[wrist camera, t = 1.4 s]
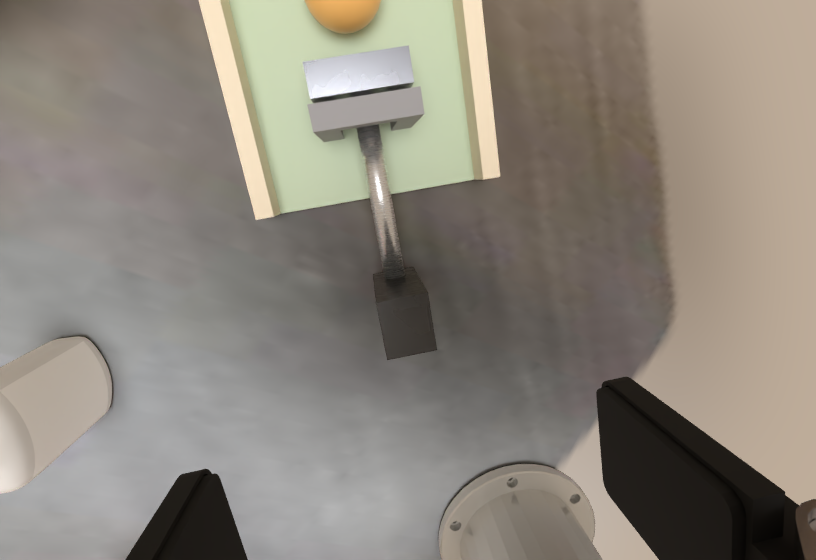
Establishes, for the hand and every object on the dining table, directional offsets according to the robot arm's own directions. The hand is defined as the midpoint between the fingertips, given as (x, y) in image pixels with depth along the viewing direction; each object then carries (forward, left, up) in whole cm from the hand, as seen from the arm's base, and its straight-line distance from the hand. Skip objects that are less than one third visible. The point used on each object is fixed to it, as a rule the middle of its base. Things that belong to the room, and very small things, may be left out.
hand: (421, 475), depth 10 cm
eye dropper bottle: (-2, +20, -19) cm, 28 cm away
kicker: (+5, -1, -17) cm, 18 cm away
